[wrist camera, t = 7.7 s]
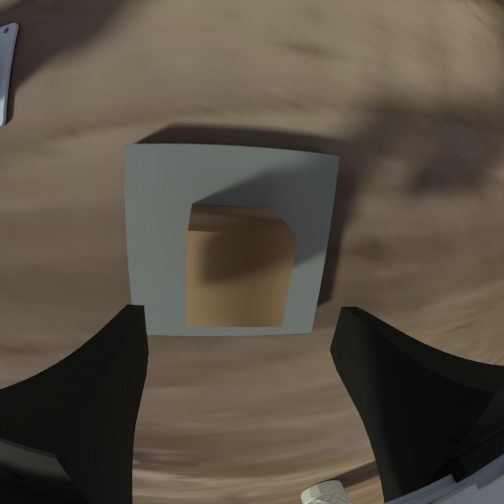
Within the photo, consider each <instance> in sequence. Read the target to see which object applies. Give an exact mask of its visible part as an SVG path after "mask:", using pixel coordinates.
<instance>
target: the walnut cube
mask: <svg viewBox="0 0 504 504" xmlns="http://www.w3.org/2000/svg"><path fill="white" fill-rule="evenodd" d="M296 243H297V235H296V234H295V233H294V232H293V231H292V230H291V229H290V228H289V226H288V225H287V224H286V223H285V222H284V221H283V220H282V219H281V217H280V216H279V215H278V214H277V213H276V212H275V211H274V210H273V209H272V208H258V207H242V206H226V205H207V204H192V206H191V213H190V219H189V226H188V237H187V274H186V326H201V327H282V326H283V321H284V315H285V309H286V304H287V298H288V292H289V286H290V280H291V274H292V268H293V262H294V256H295V249H296Z"/></svg>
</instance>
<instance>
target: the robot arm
mask: <svg viewBox="0 0 504 504" xmlns="http://www.w3.org/2000/svg"><path fill="white" fill-rule="evenodd" d="M18 28H19V25H18V24H16V23H11V24H8V25H5V26H3V27H0V127H2V126H3V125H4V124H5V122H6V112H7V99H8V88H9V80H10V72H11V65H12V59H13V53H14V47H15V42H16V37H17V33H18ZM8 29H9V30H8ZM7 30H8V32H7V33H6V31H7ZM330 352H331V355H332V358H333V361H334V364H335V366H336V369H337V372H338V374H339V376H340V378H341V380H342V381H343V383H344V385H345V387H346V389H347V391H348V393H349V395H350V397H351V399H352V401H353V402H354V404H355V406H356V408H357V410H358V412H359V414H360V416H361V418H362V421H363V423H364V426H365V429H366V431H367V434H368V437H369V440H370V443H371V446H372V449H373V453H374V456H375V459H376V463H377V467H378V471H379V475H380V480H381V485H382V490H383V496H384V502H385V503H384V504H504V366H499V365H491V364H486V363H481V362H476V361H472V360H468V359H464V358H461V357H458V356H455V355H451V354H449V353H446V352H443V351H441V350H438V349H436V348H433V347H431V346H429V345H426V344H424V343H422V342H420V341H418V340H416V339H414V338H412V337H410V336H408V335H406V334H405V333H403V332H401V331H399V330H397V329H396V328H394V327H392V326H390V325H389V324H387V323H385V322H384V321H382V320H380V319H378V318H377V317H375V316H373V315H371V314H370V313H368V312H366V311H364V310H362V309H360V308H358V307H341V311H340V315H339V319H338V322H337V326H336V330H335V333H334V337H333V340H332V344H331V347H330ZM148 353H149V350H148V341H147V332H146V321H145V309H144V305H128V304H127V305H126V306H125V307H124V308H123V309H122V310H121V311H120V312H119V313H118V314H117V315H116V316H115V317H114V318H113V319H112V320H111V321H110V322H109V323H107V324H106V325H105V326H104V327H103V328H102V329H101V330H100V331H99V332H98V333H97V334H96V335H94V336H93V337H92V338H91V339H89V340H88V341H87V342H86V343H85V344H83V345H82V346H81V347H80V348H79V349H77V350H76V351H74V352H73V353H72V354H70V355H69V356H67V357H66V358H64V359H63V360H61V361H60V362H58V363H57V364H55V365H53V366H51V367H49V368H48V369H46V370H44V371H42V372H40V373H38V374H37V375H35V376H33V377H30V378H28V379H26V380H24V381H21V382H19V383H16V384H14V385H11V386H9V387H6V388H3V389H0V504H133V503H132V463H133V444H134V432H135V425H136V420H137V415H138V411H139V406H140V401H141V397H142V392H143V388H144V383H145V379H146V373H147V363H148Z"/></svg>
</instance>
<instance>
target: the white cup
mask: <svg viewBox="0 0 504 504" xmlns="http://www.w3.org/2000/svg"><path fill="white" fill-rule="evenodd" d="M301 498H302V502H303V504H352V502H351V500H350V498H349V496H348V494H347V493H346V491H345V490H344V487H343V485H342V483H341V481H338V480H330V481H325V482H321V483H318V484H315V485H313V486H311V487H309V488H307V489H306V490H304V491H303V492H302V494H301Z"/></svg>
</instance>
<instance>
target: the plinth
mask: <svg viewBox="0 0 504 504" xmlns="http://www.w3.org/2000/svg"><path fill="white" fill-rule="evenodd" d="M339 157H340V156H336V155H331V154H326V153H319V152H311V151H302V150H293V149H282V148H271V147H259V146H245V145H228V144H204V143H133V144H126V145H125V218H126V239H127V255H128V268H129V279H130V289H131V298H132V305H144V309H145V321H146V332H147V335H172V336H247V335H277V334H298V333H311V331H312V326H313V321H314V317H315V312H316V307H317V301H318V296H319V291H320V286H321V280H322V275H323V269H324V263H325V257H326V251H327V245H328V239H329V233H330V226H331V219H332V212H333V205H334V198H335V191H336V183H337V175H338V166H339ZM192 204H207V205H226V206H242V207H258V208H272V209H273V210H274V211H275V212H276V213H277V214H278V215H279V216H280V217H281V219H282V220H283V221H284V222H285V223H286V224H287V225H288V226H289V228H290V229H291V230H292V231H293V232H294V233H295V234H296V235H297V243H296V249H295V256H294V262H293V268H292V274H291V280H290V286H289V292H288V298H287V304H286V309H285V315H284V321H283V326H282V327H201V326H186V274H187V237H188V226H189V219H190V213H191V206H192Z"/></svg>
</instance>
